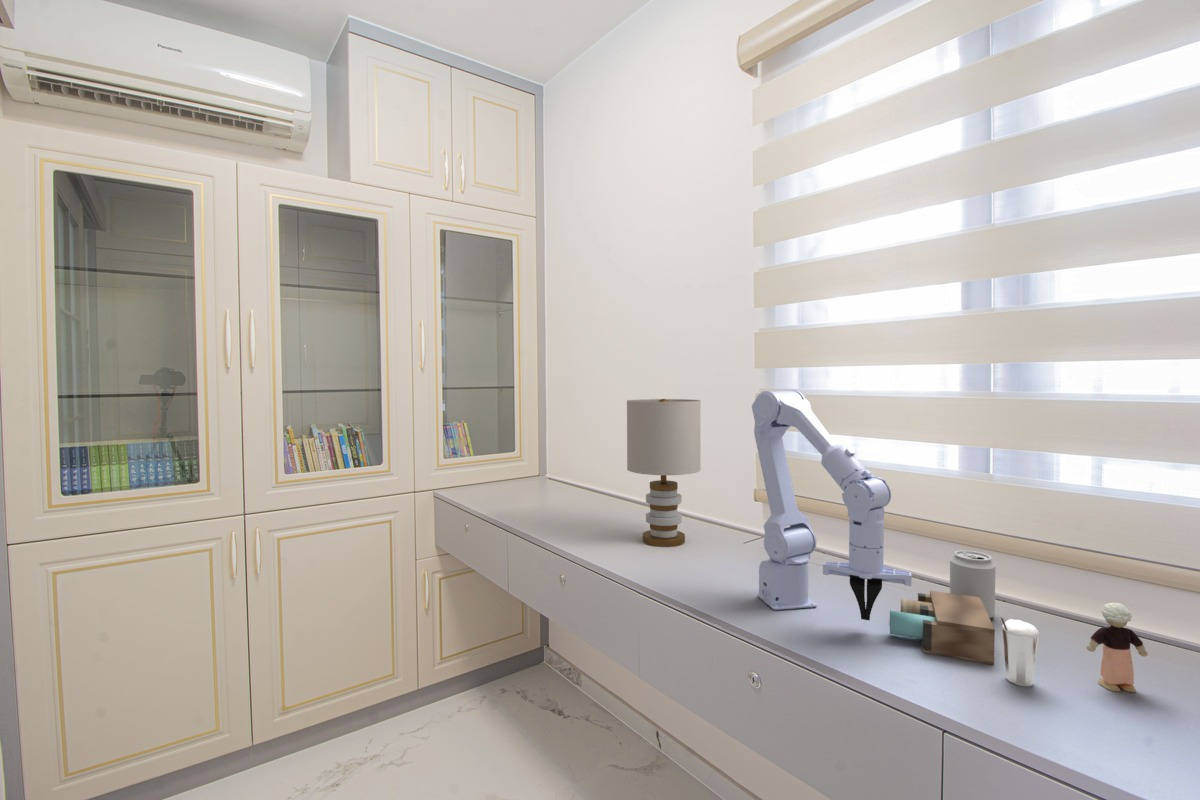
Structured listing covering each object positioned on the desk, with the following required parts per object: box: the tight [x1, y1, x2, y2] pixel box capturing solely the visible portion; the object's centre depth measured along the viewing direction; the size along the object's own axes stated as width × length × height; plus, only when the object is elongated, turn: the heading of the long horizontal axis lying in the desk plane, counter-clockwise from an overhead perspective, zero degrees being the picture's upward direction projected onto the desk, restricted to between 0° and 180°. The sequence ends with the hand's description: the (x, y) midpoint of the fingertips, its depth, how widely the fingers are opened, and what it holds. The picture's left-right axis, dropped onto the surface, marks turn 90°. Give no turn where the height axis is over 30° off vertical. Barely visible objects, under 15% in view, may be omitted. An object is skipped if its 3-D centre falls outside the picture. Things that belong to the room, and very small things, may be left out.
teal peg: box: [889, 609, 936, 640], centre depth 100 cm, size 10×4×4 cm, turn 64°
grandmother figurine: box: [1086, 602, 1149, 693], centre depth 85 cm, size 8×4×13 cm, turn 92°
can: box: [949, 549, 997, 619], centre depth 111 cm, size 8×8×12 cm
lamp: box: [626, 398, 702, 548], centre depth 163 cm, size 21×21×41 cm
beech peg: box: [900, 598, 933, 615], centre depth 105 cm, size 10×4×4 cm, turn 64°
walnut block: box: [917, 590, 996, 665], centre depth 101 cm, size 10×15×6 cm, turn 154°
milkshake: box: [1000, 617, 1040, 688], centre depth 87 cm, size 4×5×10 cm
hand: (865, 617), depth 104 cm, fingers closed
